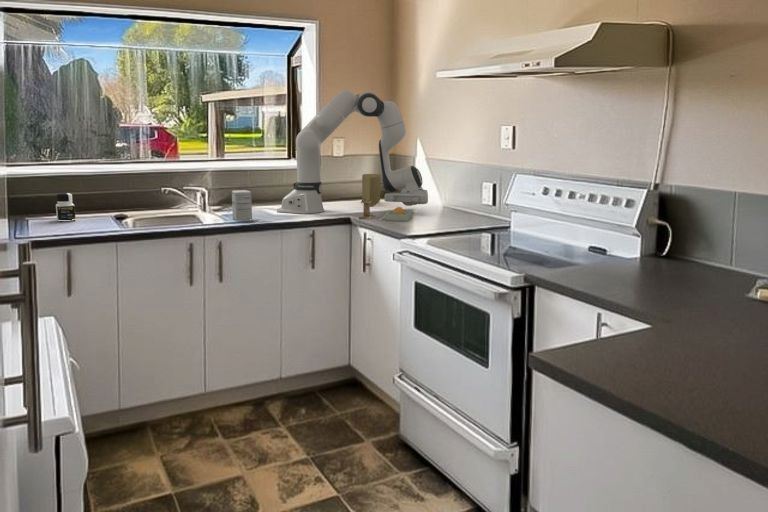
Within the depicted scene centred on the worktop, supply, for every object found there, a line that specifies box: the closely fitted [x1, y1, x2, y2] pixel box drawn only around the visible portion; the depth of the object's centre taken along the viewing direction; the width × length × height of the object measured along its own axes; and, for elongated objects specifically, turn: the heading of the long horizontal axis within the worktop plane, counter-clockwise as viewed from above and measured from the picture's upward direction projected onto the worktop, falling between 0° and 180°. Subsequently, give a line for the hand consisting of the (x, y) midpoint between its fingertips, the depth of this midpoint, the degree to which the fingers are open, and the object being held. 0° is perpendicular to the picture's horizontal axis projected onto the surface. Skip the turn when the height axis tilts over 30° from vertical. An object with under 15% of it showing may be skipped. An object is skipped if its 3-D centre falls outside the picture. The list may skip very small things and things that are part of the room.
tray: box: [384, 210, 413, 222], centre depth 332 cm, size 10×10×3 cm
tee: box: [358, 199, 376, 220], centre depth 335 cm, size 6×6×8 cm
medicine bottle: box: [55, 192, 77, 220], centre depth 323 cm, size 7×7×12 cm
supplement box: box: [231, 189, 253, 221], centre depth 329 cm, size 7×7×13 cm
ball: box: [392, 206, 405, 214], centre depth 331 cm, size 5×5×5 cm
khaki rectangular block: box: [361, 173, 382, 208], centre depth 383 cm, size 22×10×15 cm, turn 1°
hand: (402, 199), depth 338 cm, fingers open, 8 cm apart
